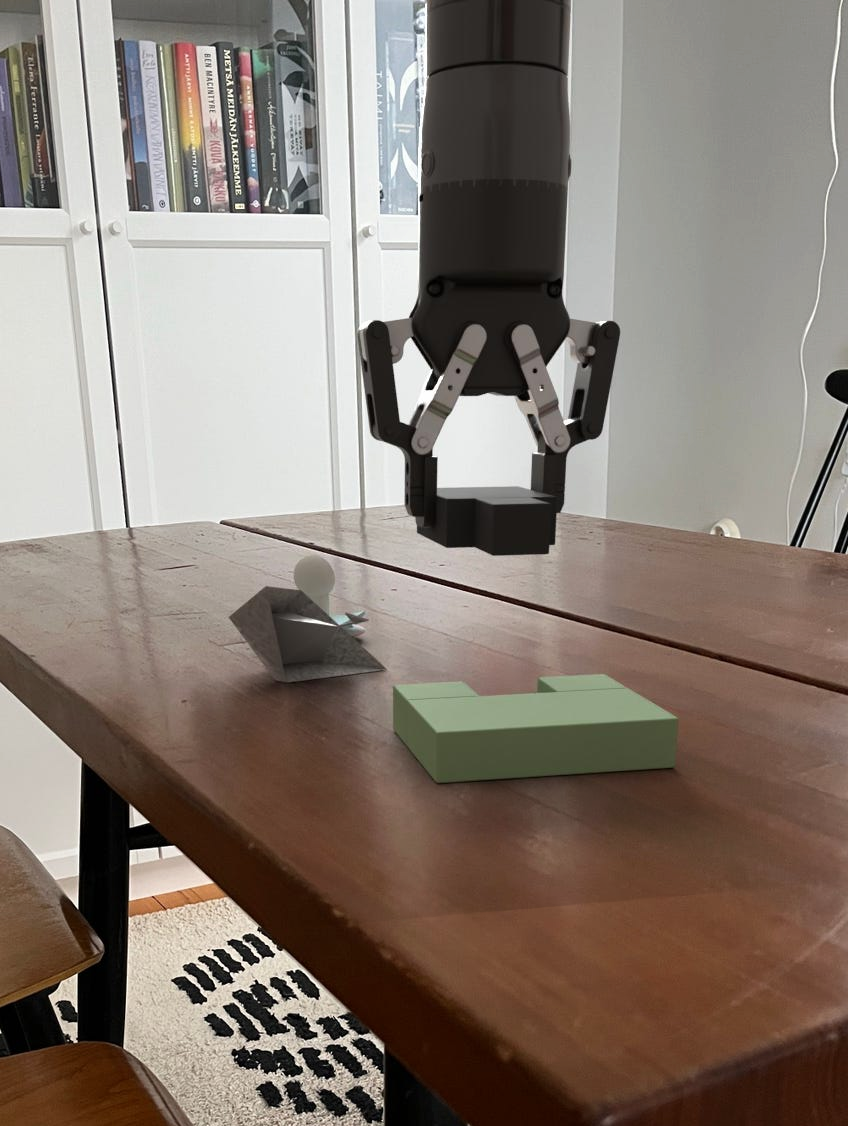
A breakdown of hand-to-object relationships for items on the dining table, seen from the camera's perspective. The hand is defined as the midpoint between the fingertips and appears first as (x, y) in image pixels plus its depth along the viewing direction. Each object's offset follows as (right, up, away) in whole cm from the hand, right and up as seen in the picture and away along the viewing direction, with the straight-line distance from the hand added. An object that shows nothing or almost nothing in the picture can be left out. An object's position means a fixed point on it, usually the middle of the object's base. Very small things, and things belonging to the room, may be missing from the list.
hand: (483, 523), depth 70 cm
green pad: (+2, -13, -4) cm, 14 cm away
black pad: (0, -1, -1) cm, 2 cm away
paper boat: (-10, -7, +11) cm, 17 cm away
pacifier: (-10, -3, +23) cm, 25 cm away
